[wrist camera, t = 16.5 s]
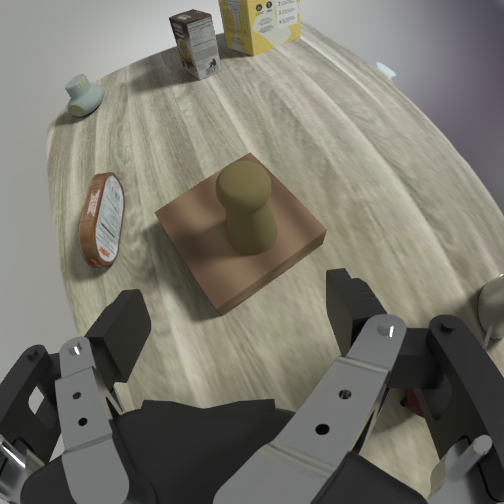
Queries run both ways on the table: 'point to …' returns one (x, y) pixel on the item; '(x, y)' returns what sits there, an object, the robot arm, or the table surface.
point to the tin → (102, 220)
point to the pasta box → (259, 24)
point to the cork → (247, 206)
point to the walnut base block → (222, 252)
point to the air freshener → (83, 96)
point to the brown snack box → (196, 43)
